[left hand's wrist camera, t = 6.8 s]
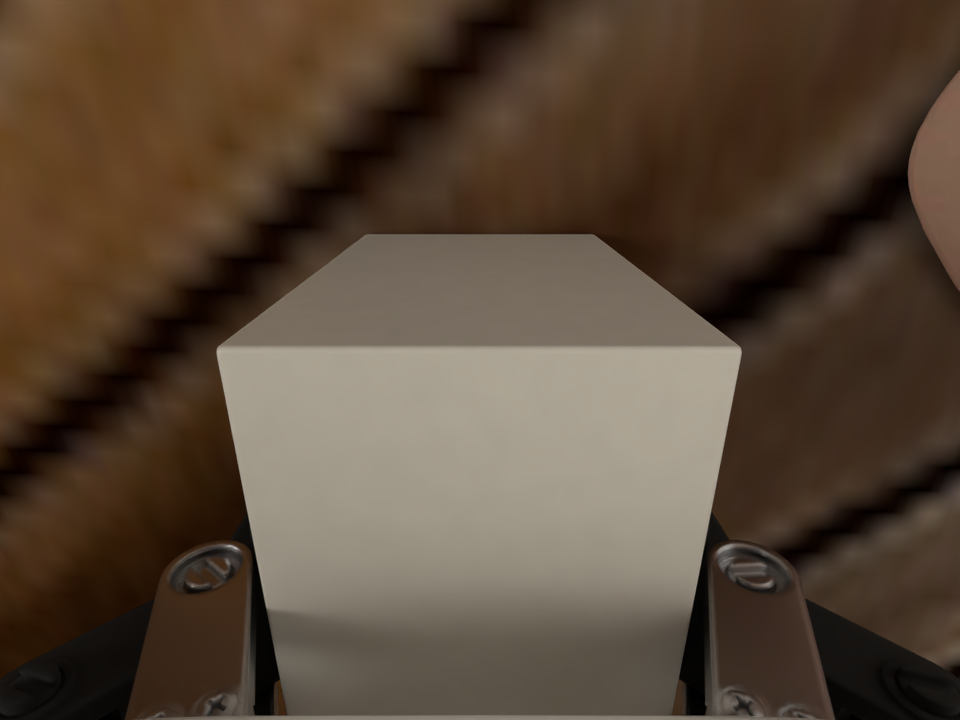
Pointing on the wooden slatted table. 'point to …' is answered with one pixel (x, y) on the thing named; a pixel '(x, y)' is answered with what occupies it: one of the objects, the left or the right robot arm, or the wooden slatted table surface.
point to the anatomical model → (939, 177)
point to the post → (479, 476)
